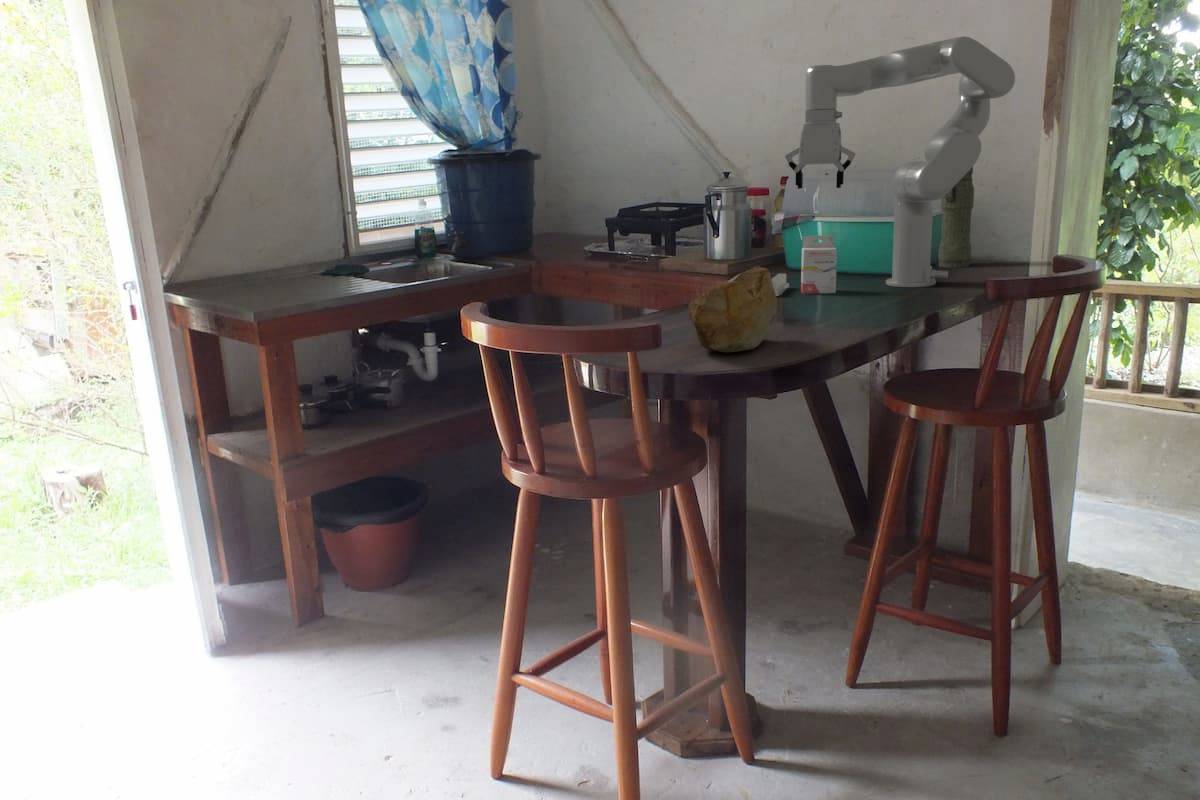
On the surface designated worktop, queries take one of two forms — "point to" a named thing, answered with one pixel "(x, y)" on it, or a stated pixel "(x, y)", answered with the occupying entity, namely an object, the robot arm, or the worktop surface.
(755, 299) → the rough brown rock
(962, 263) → the thermos
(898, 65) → the robot arm
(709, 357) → the worktop surface
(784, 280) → the rail dock
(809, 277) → the ink cartridge box
